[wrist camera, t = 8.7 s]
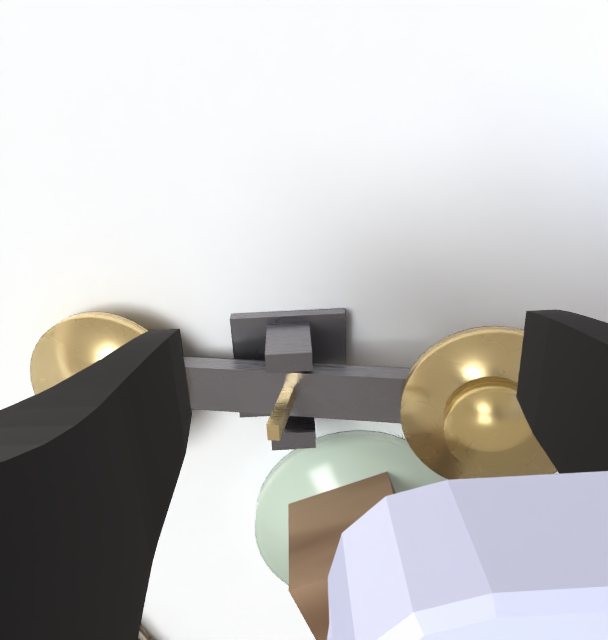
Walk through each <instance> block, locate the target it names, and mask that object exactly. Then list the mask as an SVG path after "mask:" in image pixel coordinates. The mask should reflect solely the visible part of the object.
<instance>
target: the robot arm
mask: <svg viewBox="0 0 608 640" xmlns="http://www.w3.org/2000/svg"><path fill="white" fill-rule="evenodd" d="M516 398H517V400H518V402H519V405H520V407H521V409H522V411H523V414H524V416H525V418H526V420H527V422H528V424H529V426H530V428H531V430H532V433H533V434H534V436H535V438H536V439H537V441H538V442H539V444H540V445H541V447H542V448H543V450H544V451H545V453H546V454H547V456H548V457H549V459H550V460H551V462H552V463H553V465H554V466H555V468H556V469H557V471H558V472H559V474H545V475H527V476H509V477H490V478H472V479H453V480H445V481H441V482H437V483H433V484H430V485H426V486H422V487H418V488H415V489H411V490H407V491H403V492H400V493H396V494H392V495H389V496H385V497H384V498H383V499H382V500H381V501H379V502H378V503H377V504H376V505H375V506H373V507H372V508H371V509H370V510H369V511H367V512H366V513H365V514H364V515H363V516H362V517H360V518H359V519H358V520H357V521H356V522H354V523H353V524H352V525H351V526H350V527H348V528H347V529H346V530H345V531H344V532H342V534H341V538H340V541H339V544H338V547H337V550H336V553H335V556H334V559H333V563H332V566H331V569H330V572H329V575H328V599H329V629H328V636H327V640H608V323H605V322H602V321H599V320H596V319H593V318H590V317H586V316H583V315H579V314H576V313H572V312H567V311H562V310H539V311H526V319H525V328H524V336H523V344H522V352H521V360H520V369H519V377H518V385H517V393H516ZM191 416H192V412H191V405H190V398H189V391H188V384H187V377H186V370H185V363H184V356H183V349H182V342H181V335H180V329H169V330H150V331H148V332H145V333H143V334H141V335H139V336H137V337H136V338H134V339H132V340H130V341H129V342H127V343H126V344H124V345H122V346H121V347H119V348H118V349H116V350H114V351H113V352H111V353H110V354H108V355H106V356H105V357H103V358H101V359H100V360H98V361H97V362H95V363H93V364H92V365H90V366H88V367H86V368H85V369H83V370H81V371H79V372H78V373H76V374H74V375H72V376H71V377H69V378H67V379H65V380H63V381H62V382H60V383H58V384H56V385H54V386H53V387H51V388H49V389H47V390H45V391H43V392H41V393H38V394H36V395H34V396H32V397H30V398H28V399H25V400H23V401H21V402H19V403H16V404H14V405H12V406H10V407H7V408H5V409H2V410H0V640H138V636H139V630H140V624H141V619H142V613H143V608H144V603H145V597H146V592H147V587H148V582H149V577H150V572H151V567H152V562H153V558H154V554H155V551H156V547H157V543H158V540H159V537H160V533H161V530H162V527H163V524H164V521H165V518H166V515H167V511H168V508H169V505H170V502H171V499H172V496H173V493H174V489H175V486H176V483H177V480H178V477H179V473H180V470H181V467H182V464H183V460H184V457H185V454H186V448H187V442H188V436H189V430H190V423H191Z"/></svg>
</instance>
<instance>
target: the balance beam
mask: <svg viewBox="0 0 608 640" xmlns="http://www.w3.org/2000/svg"><path fill="white" fill-rule="evenodd" d="M145 332H148V330H147V329H145V328H143V327H142V326H140V325H139V324H137V323H135V322H133V321H131V320H129V319H127V318H124V317H121V316H118V315H115V314H110V313H105V312H85V313H79V314H76V315H73V316H70V317H68V318H66V319H64V320H62V321H61V322H59V323H58V324H56V325H55V326H53V327H52V328H51V329H49V330H48V331H47V332H46V333H45V334H44V335H43V336H42V337H41V338H40V340H39V341H38V343H37V344H36V346H35V349H34V351H33V354H32V358H31V366H30V373H31V381H32V386H33V390H34V393H35V395H36V394H38V393H41V392H43V391H45V390H47V389H49V388H51V387H53V386H54V385H56V384H58V383H60V382H62V381H63V380H65V379H67V378H69V377H71V376H72V375H74V374H76V373H78V372H79V371H81V370H83V369H85V368H86V367H88V366H90V365H92V364H93V363H95V362H97V361H98V360H100V359H101V358H103V357H105V356H106V355H108V354H110V353H111V352H113V351H114V350H116V349H118V348H119V347H121V346H122V345H124V344H126V343H127V342H129V341H130V340H132V339H134V338H136V337H137V336H139V335H141V334H143V333H145ZM523 336H524V330H522V329H518V328H513V327H504V326H485V327H477V328H472V329H468V330H464V331H460V332H458V333H455V334H452V335H450V336H448V337H446V338H444V339H442V340H440V341H438V342H437V343H436V344H434V345H433V346H431V347H430V348H429V349H428V350H426V351H425V352H424V353H423V354H422V355H421V356H420V357H419V358H418V360H417V361H416V362H415V363H414V365H413V366H412V368H396V367H376V366H357V365H337V364H317V363H312V365H313V371H300V372H280V373H266V364H265V361H258V360H238V359H218V358H198V357H184V363H185V370H186V377H187V384H188V391H189V398H190V405H191V409H200V410H215V411H229V412H244V413H258V414H271V415H270V418H269V420H268V422H267V436H268V440H276V441H280V439H281V436H282V434H283V431H284V428H285V426H286V423H287V421H288V418H289V416H302V417H317V418H331V419H346V420H360V421H375V422H389V423H401V424H402V429H403V432H404V435H405V438H406V440H407V442H408V444H409V446H410V448H411V449H412V450H413V452H414V453H415V455H416V456H417V457H418V458H419V459H420V460H421V461H422V462H423V463H424V464H425V465H426V466H427V467H428V468H430V469H431V470H432V471H434V472H435V473H437V474H438V475H440V476H442V477H444V478H446V479H448V480H453V479H472V478H490V477H509V476H527V475H545V474H554V473H556V472H557V469H556V468H555V466H554V465H553V463H552V462H551V460H550V459H549V457H548V456H547V454H546V453H545V451H544V450H543V448H542V447H541V448H540V450H539V452H538V453H537V454H536V456H535V457H534V458H533V459H531V460H530V461H529V462H528V463H526V464H525V465H523V466H521V467H519V468H516V469H513V470H510V471H505V472H484V471H480V470H476V469H473V468H471V467H469V466H467V465H465V464H463V463H462V462H460V461H459V460H458V459H457V458H456V457H455V456H454V455H453V454H452V452H451V451H450V450H449V448H448V446H447V443H446V440H445V433H444V407H445V404H446V402H447V400H448V398H449V397H450V395H451V394H452V393H453V392H454V390H456V389H457V388H458V387H459V386H461V385H462V384H464V383H466V382H468V381H470V380H473V379H476V378H480V377H487V376H496V377H503V378H507V379H510V380H513V381H515V382H517V383H518V377H519V369H520V360H521V352H522V344H523Z"/></svg>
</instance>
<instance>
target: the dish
mask: <svg viewBox="0 0 608 640" xmlns="http://www.w3.org/2000/svg"><path fill="white" fill-rule="evenodd" d="M384 472H387V473H388V475H389V477H390V480H391V482H392V485H393V487H394V490H395V492H396V493H400V492H403V491H407V490H411V489H415V488H418V487H422V486H426V485H430V484H433V483H437V482H441V481H445V480H447V479H446V478H444V477H442V476H440V475H438V474H437V473H435V472H434V471H432V470H431V469H430V468H428V467H427V466H426V465H425V464H424V463H423V462H422V461H421V460H420V459H419V458H418V457H417V456H416V455H415V453H414V452H413V450H412V449H411V448H410V446H409V444H408V442H407V441H406V440H404V439H401V438H399V437H396V436H393V435H389V434H385V433H380V432H372V431H348V432H339V433H334V434H330V435H326V436H323V437H320V438H317V439H316V448H306V449H295V450H293V451H292V452H290V453H289V454H288V455H286V456H285V457H284V458H283V459H282V460H280V461H279V463H278V464H277V465H276V466H275V467H274V468H273V469H272V470H271V472H270V473H269V475H268V476H267V477H266V479H265V481H264V483H263V485H262V487H261V489H260V493H259V496H258V499H257V506H256V517H255V536H256V542H257V546H258V548H259V551H260V554H261V556H262V558H263V559H264V561H265V563H266V564H267V566H268V567H269V568H270V569H271V571H272V572H273V573H274V574H275V575H276V576H277V577H278V578H279V579H281V580H282V581H283V582H285V583H286V584H287V585H289V535H288V504H290V503H293V502H296V501H299V500H302V499H305V498H308V497H311V496H314V495H317V494H320V493H323V492H326V491H329V490H332V489H335V488H338V487H341V486H344V485H347V484H350V483H354V482H357V481H360V480H363V479H366V478H369V477H372V476H375V475H378V474H381V473H384Z"/></svg>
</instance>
